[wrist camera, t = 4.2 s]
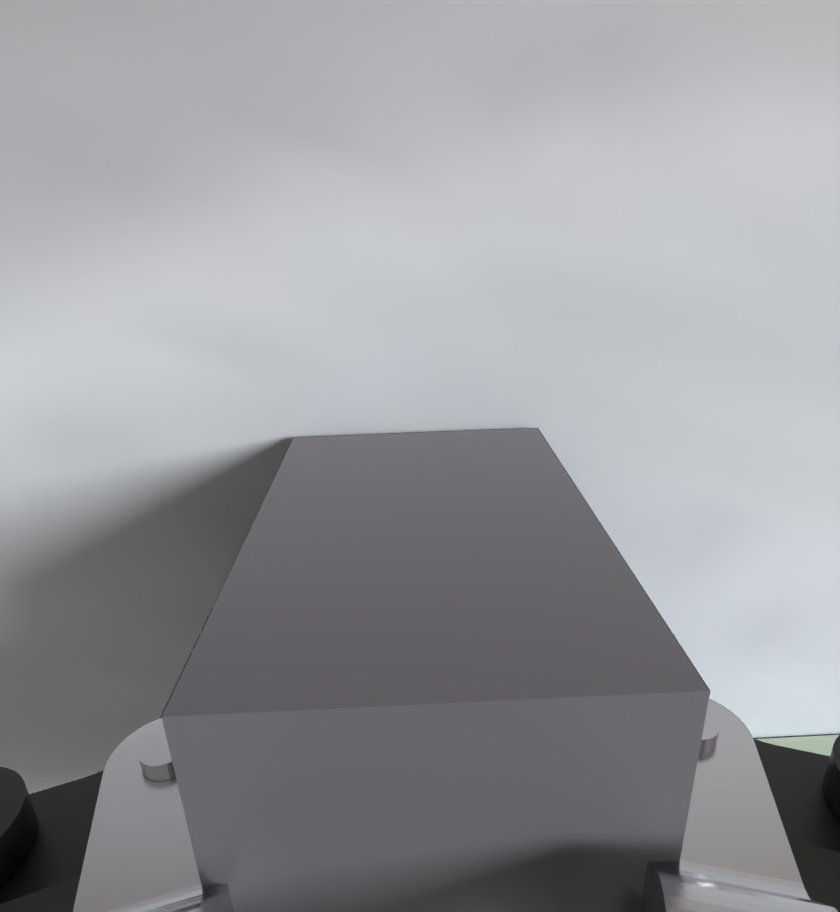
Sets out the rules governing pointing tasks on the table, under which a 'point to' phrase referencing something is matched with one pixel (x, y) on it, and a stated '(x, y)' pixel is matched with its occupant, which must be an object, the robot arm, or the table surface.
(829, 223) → the table surface
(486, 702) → the plug
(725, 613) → the table surface
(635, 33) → the table surface
